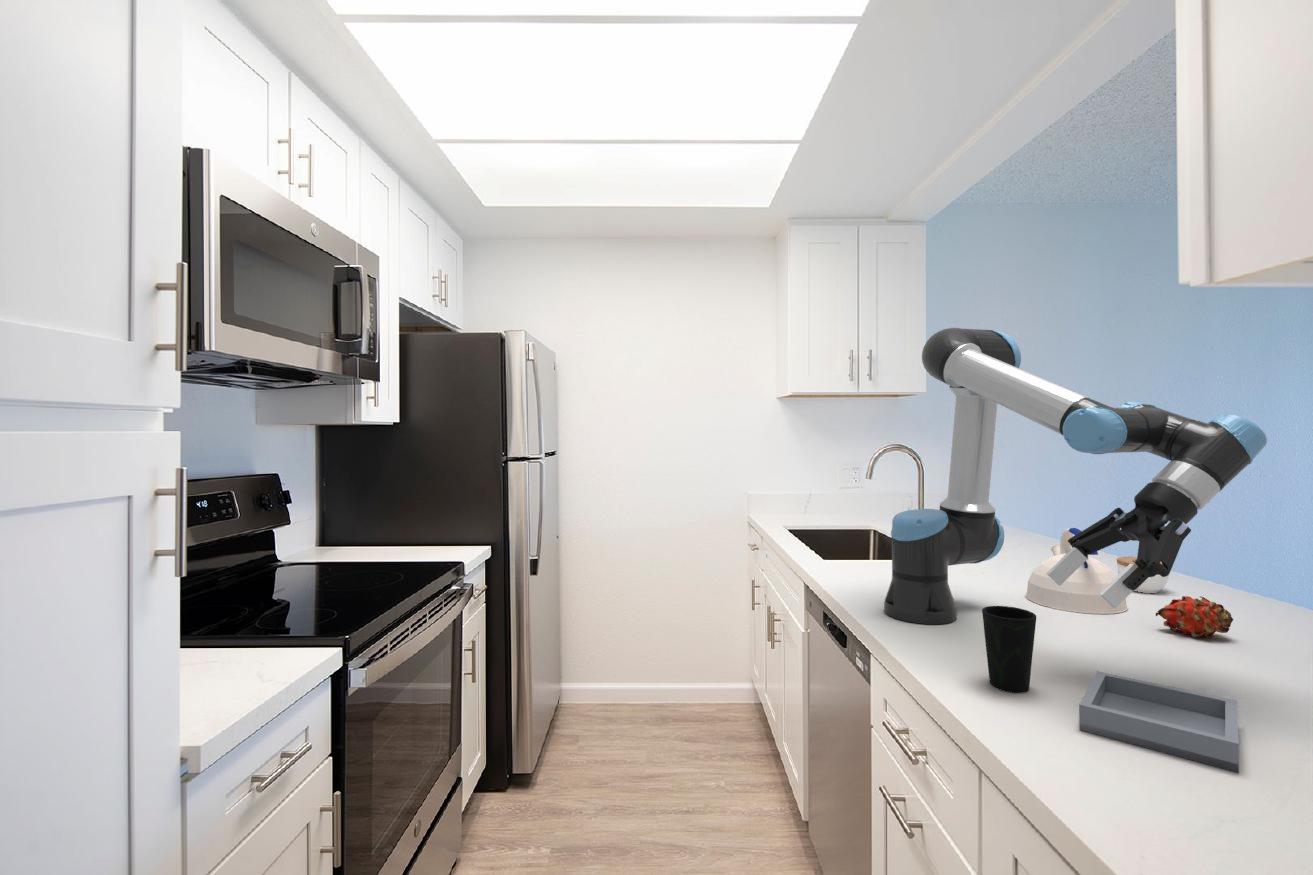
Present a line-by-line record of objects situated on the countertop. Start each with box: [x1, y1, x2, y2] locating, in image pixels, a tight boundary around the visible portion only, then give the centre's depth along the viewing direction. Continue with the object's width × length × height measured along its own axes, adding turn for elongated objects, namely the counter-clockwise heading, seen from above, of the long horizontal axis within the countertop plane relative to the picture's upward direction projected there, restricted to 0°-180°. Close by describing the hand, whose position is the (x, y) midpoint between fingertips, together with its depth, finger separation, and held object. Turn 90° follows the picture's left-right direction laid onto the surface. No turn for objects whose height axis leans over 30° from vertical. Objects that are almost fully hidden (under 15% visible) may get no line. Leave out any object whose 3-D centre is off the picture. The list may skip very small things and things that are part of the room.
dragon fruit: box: [1155, 595, 1234, 639], centre depth 123 cm, size 8×8×12 cm
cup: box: [981, 605, 1037, 694], centre depth 99 cm, size 8×8×12 cm
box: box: [1078, 670, 1240, 773], centre depth 85 cm, size 16×16×4 cm
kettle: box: [1025, 527, 1129, 615], centre depth 147 cm, size 20×21×18 cm
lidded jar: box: [1116, 556, 1170, 594], centre depth 158 cm, size 11×11×9 cm
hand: (1078, 589), depth 99 cm, fingers open, 13 cm apart
